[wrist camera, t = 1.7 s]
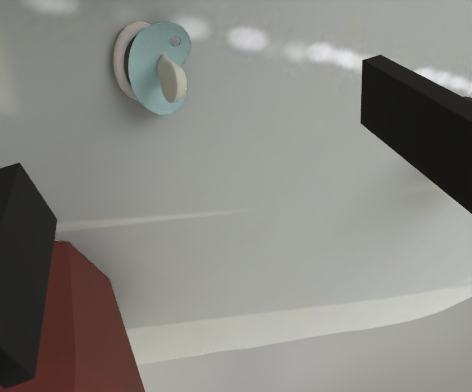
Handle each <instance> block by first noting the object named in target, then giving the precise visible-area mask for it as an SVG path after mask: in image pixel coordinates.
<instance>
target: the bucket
mask: <svg viewBox="0 0 472 392" xmlns="http://www.w3.org/2000/svg"><path fill="white" fill-rule="evenodd" d="M0 392H145V390H144V387H143V384H142V380H141V378H140V375H139V371H138V368H137V365H136V362H135V358H134V355H133V352H132V349H131V346H130V343H129V339H128V336H127V333H126V330H125V327H124V324H123V320H122V317H121V314H120V311H119V308H118V305H117V301H116V298H115V295H114V292H113V289H112V286H111V282H110V280H109V279H108V278H107V277H106V276H105V275H104V274H103V273H102V272H101V271H100V270H99V269H97V268H96V267H95V266H94V265H93V264H92V263H91V262H90V261H89V260H88V259H87V258H86V257H84V256H83V255H82V254H81V253H80V252H79V251H78V250H77V249H76V248H75V247H74V246H72V245H71V244H70V243H69V242H56V241H54V245H53V253H52V260H51V267H50V274H49V281H48V288H47V296H46V303H45V310H44V317H43V324H42V331H41V339H40V346H39V353H38V360H37V367H36V374H35V379H32V380H30V381H27V382H24V383H21V384H18V385H16V386H13V387H10V388H7V389H4V388H3V387H2V386H0Z"/></svg>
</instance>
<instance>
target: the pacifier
mask: <svg viewBox="0 0 472 392" xmlns="http://www.w3.org/2000/svg"><path fill="white" fill-rule="evenodd" d="M135 36H136V38H135V39H134V42H133V44H132V46H131V50H130V53H129V62H128V70H129V78H130V82H129V81H128V79H127V77H126V74H125V70H124V54H125V51H126V48H127V46H128V44H129V42H130V41H131V39H132V38H133V37H135ZM172 37H179V38H180V43H179V44H178V45H176V46H174V45H171V44H170V39H171V38H172ZM190 47H191V42H190V38H189V36H188V34H187V32H186V31H185V30H184V29H183V28H182V27H180V26H179V25H177V24H174V23H170V22H160V23H155V24H152V25H150V24H148V23H145V22H142V21H139V22H133V23H131V24H129V25H127V26H126V27H125V28H124V29H123V30H122V31H121V33H120V35H119V37H118V39H117V40H116V44H115V48H114V54H113V66H114V73H115V76H116V80H117V82H118V84H119V86H120V88H121V90H122V91H123V92H124V93H125V94H126V95H127V96H128V97H130V98H132V99H133V100H138V101H139V102H140V103H141V104H142V105H143V106H144V107H145V108H147V109H149V110H150V111H152V112H154V113H156V114H160V115H168V114H172V113H174V112H176V111H178V110H179V109H180V108H181V106H182V105H183V103H184V101H185V98H186V92H187V90H186V89H187V79H186V75H185V73H184V71H183V70H182V68H181V66H182V65H183V64H184V62H185V61H186V59H187V57H188V55H189V52H190ZM130 83H131V84H130Z"/></svg>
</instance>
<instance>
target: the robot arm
mask: <svg viewBox="0 0 472 392" xmlns="http://www.w3.org/2000/svg"><path fill="white" fill-rule="evenodd" d="M361 124H362V125H364V126H365V127H366V128H367V129H368V130H370V131H371V132H372V133H373V134H375V135H376V136H377V137H378V138H379V139H381V140H382V141H383V142H384V143H386V144H387V145H388V146H389V147H391V148H392V149H393V150H394V151H395V152H397V153H398V154H399V155H400V156H402V157H403V158H404V159H405V160H406V161H408V162H409V163H410V164H411V165H413V166H414V167H415V168H416V169H417V170H419V171H420V172H421V173H422V174H424V175H425V176H426V177H427V178H428V179H430V180H431V181H432V182H433V183H435V184H436V185H437V186H438V187H440V188H441V189H442V190H443V191H444V192H446V193H447V194H448V195H449V196H451V197H452V198H453V199H454V200H455V201H457V202H458V203H459V204H460V205H462V206H463V207H464V208H465V209H466V210H468V211H469V212H470V213H471V214H472V98H470V97H462V96H460V95H458V94H456V93H454V92H452V91H450V90H448V89H446V88H444V87H442V86H440V85H438V84H436V83H434V82H432V81H430V80H429V79H427V78H425V77H423V76H421V75H419V74H417V73H415V72H413V71H411V70H409V69H407V68H405V67H403V66H401V65H399V64H397V63H395V62H394V61H392V60H390V59H388V58H386V57H384V56H382V55H378V56H375V57H372V58H368V59H365V60H363V62H362V94H361ZM56 224H57V219H56V217H55V215H54V214H53V212H52V211H51V209H50V208H49V206H48V205H47V203H46V202H45V200H44V199H43V197H42V196H41V194H40V193H39V191H38V190H37V188H36V187H35V185H34V184H33V182H32V181H31V179H30V178H29V176H28V174H27V173H26V171H25V170H24V168H23V167H22V165H21V164H20V163H17V164H14V165H10V166H7V167H4V168H0V386H2V387H3V388H4V389H7V388H10V387H13V386H16V385H18V384H21V383H24V382H27V381H30V380H32V379H35V374H36V367H37V360H38V353H39V346H40V339H41V331H42V324H43V317H44V310H45V303H46V296H47V288H48V281H49V274H50V267H51V260H52V253H53V245H54V238H55V231H56Z"/></svg>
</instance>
